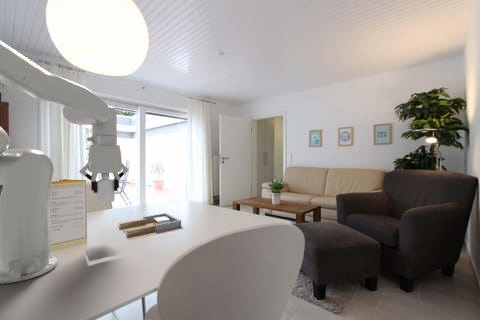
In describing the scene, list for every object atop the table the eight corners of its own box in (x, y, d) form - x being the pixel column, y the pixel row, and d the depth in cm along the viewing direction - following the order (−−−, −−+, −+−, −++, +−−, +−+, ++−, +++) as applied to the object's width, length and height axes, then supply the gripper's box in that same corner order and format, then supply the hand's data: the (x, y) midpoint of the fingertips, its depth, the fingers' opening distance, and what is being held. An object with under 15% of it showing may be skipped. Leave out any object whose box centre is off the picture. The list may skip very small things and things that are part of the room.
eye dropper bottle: (97, 201, 82) (97, 168, 82) (115, 200, 84) (114, 168, 84) (95, 204, 78) (94, 169, 78) (113, 202, 80) (113, 169, 80)
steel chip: (169, 225, 94) (169, 219, 94) (157, 227, 91) (157, 221, 91) (165, 222, 99) (165, 216, 99) (153, 224, 96) (153, 218, 96)
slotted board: (184, 230, 91) (183, 222, 91) (130, 242, 78) (130, 233, 78) (165, 219, 107) (164, 213, 107) (117, 228, 94) (117, 220, 94)
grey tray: (181, 226, 93) (181, 220, 92) (156, 232, 86) (155, 225, 86) (166, 218, 105) (166, 213, 105) (143, 222, 98) (142, 216, 98)
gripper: (76, 139, 73) (76, 195, 73) (133, 141, 84) (134, 190, 84) (74, 140, 78) (75, 192, 79) (128, 142, 89) (128, 188, 90)
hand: (105, 191), depth 81 cm, fingers closed on eye dropper bottle, 5 cm apart
